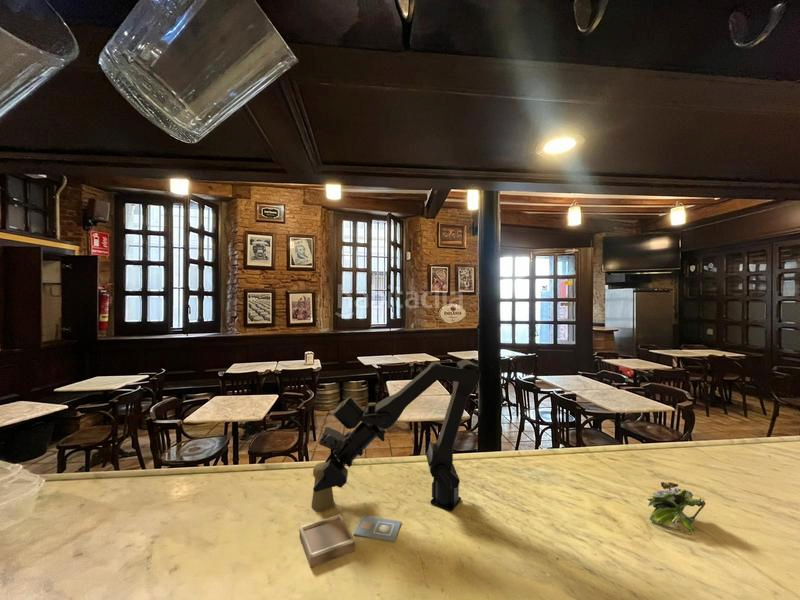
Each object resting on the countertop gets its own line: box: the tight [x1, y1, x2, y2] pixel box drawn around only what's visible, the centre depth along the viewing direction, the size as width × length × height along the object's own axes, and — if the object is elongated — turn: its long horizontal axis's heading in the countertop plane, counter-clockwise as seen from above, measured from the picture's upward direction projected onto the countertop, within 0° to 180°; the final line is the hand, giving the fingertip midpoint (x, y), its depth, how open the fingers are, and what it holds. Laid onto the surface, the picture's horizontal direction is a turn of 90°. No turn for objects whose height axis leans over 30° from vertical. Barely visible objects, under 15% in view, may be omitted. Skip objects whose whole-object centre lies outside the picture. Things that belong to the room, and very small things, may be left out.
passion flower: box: [646, 481, 706, 533], centre depth 87 cm, size 11×11×12 cm
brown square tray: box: [299, 513, 356, 568], centre depth 80 cm, size 10×10×3 cm
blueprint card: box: [352, 515, 402, 543], centre depth 85 cm, size 10×7×1 cm
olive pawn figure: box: [311, 461, 335, 513], centre depth 94 cm, size 6×6×11 cm
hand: (317, 480), depth 94 cm, fingers open, 9 cm apart
